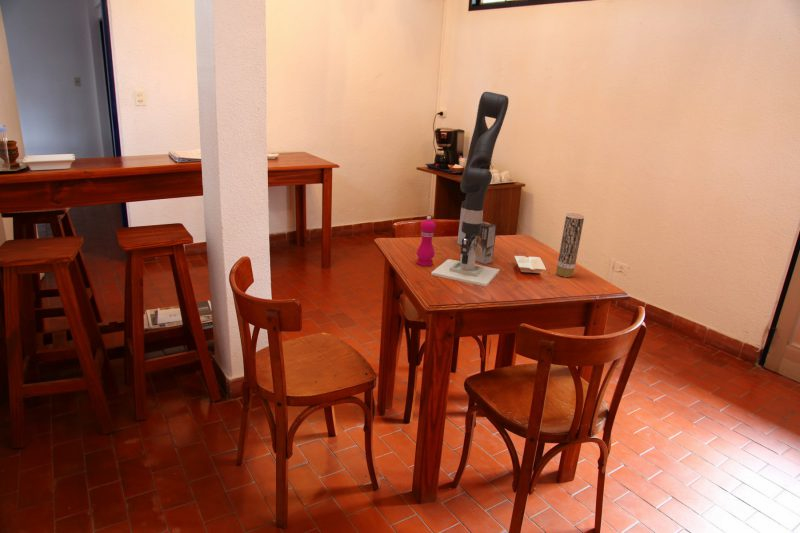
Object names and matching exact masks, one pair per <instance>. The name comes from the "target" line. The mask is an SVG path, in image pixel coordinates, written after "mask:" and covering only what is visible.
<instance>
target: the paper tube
mask: <svg viewBox="0 0 800 533" xmlns="http://www.w3.org/2000/svg"><path fill="white" fill-rule="evenodd" d="M564 220H565V221H564V225H563V231H562V236H561V244H560V248H559V254H558V259H557V265H556V270H555V271H556V272H555V273H556V275H557V274H558V275H557V276H559V275H560V276H559V277H561V276H566V277H565V278H567V277H568V278H572V277H573V276H574V274H575V267H576V264H577V258H578V251H579V247H580V241H581V237H582V231H583V225H584V221H585V216H584V215H583V214H579V213H574V212H573V213H570V212H569V213H566V214H565V218H564ZM569 276H570V277H569ZM571 276H572V277H571Z"/></svg>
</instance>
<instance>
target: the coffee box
mask: <svg viewBox="0 0 800 533" xmlns="http://www.w3.org/2000/svg"><path fill="white" fill-rule="evenodd" d="M497 227H498V226H497V224H493V223H491V222H486V221H482V227H481V233H480V234H478V241H477V247H476V249H474V250H475V254H476V261H475V262H477V263H480V264H483V265H487V264H489V263H492V262H493V261H494V260H493V259H494V252H495V244H496V243H495V242H496V237H497V236H496V234H497V229H498V228H497Z"/></svg>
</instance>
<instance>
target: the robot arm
mask: <svg viewBox="0 0 800 533" xmlns="http://www.w3.org/2000/svg"><path fill="white" fill-rule="evenodd" d="M508 108H509V96H507V95H505V94H501V93H496V92H493V91H492V92H491V91H483V93H482V94H481V95H480V98H479V102H478V107H477V112H476V120H475V124H474V129H473V133H472V137H471V139H470V143H469V149H468V154H467V158H466V162H465V166H464V170H463V173H462V176H461V179H460V185H459V186H460V191H461V192H462V193H463V194H466V195H465V200H463V201H462V202H461V207H460V218H459V227H458V235H457V245H459V246H461V247H460V255H461V254H462V264H467V263H468V255H469V251H470V250H471V249H472V245H473V247H474V249H476V247H477V241H478V234H480V233H481V227H482V222H483V218H484V215H483V214H484V206H485V204H484V202H485V198H486V195H487V191H488V190H489V188H490V184H491V183H492V179H493V176H492V175H493V173H492V172H491V170H490V169H487V168H484V167H488V166H489V165H490V164H491V161H492V159H493V154H494V149H495V146H496V143H497V139H498V137H499V135H500V132H501V129H502V126H503V124H504V120H505V117H506V114H507V111H508ZM486 118H490V119H495V121H494V122H493V124H492V125H491V126H490V127H488V124H487V122H486V120H487V119H486ZM482 167H483V168H482ZM465 249H466V251H465ZM474 251H475V250H474Z"/></svg>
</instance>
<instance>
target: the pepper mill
mask: <svg viewBox="0 0 800 533" xmlns="http://www.w3.org/2000/svg"><path fill="white" fill-rule="evenodd" d="M436 227H437V225H436V222H435V221H434V220H432V216H430V215H428V216H426V219H425V220H424V219H423V221H421V223H420V229H421V231H420V232H421V234H420V235H421V242H420V244H419V246H418V248H417V250H416V255H417V257H418V258H417V259H416V260H417V262H416V264H418V266H421V267H430V266H433V258H434V257H435V247H434V246H433V237H434V234H435V232H434V231H435V230H436Z"/></svg>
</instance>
